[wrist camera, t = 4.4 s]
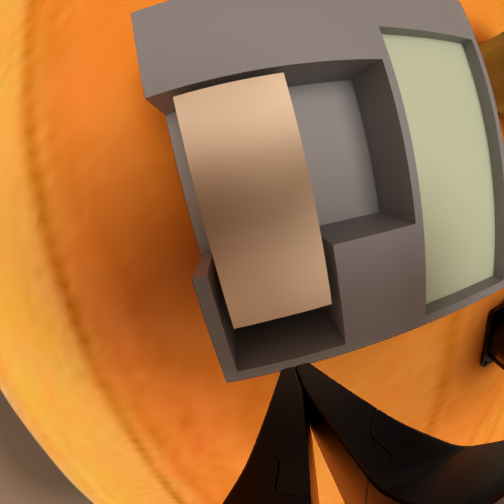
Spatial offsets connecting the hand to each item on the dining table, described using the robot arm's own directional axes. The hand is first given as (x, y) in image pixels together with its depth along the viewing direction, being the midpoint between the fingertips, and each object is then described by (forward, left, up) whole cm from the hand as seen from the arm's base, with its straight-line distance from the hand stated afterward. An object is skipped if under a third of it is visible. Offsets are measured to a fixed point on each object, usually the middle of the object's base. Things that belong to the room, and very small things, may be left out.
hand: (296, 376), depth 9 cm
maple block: (+5, 0, -7) cm, 8 cm away
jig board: (+6, -5, -10) cm, 12 cm away
